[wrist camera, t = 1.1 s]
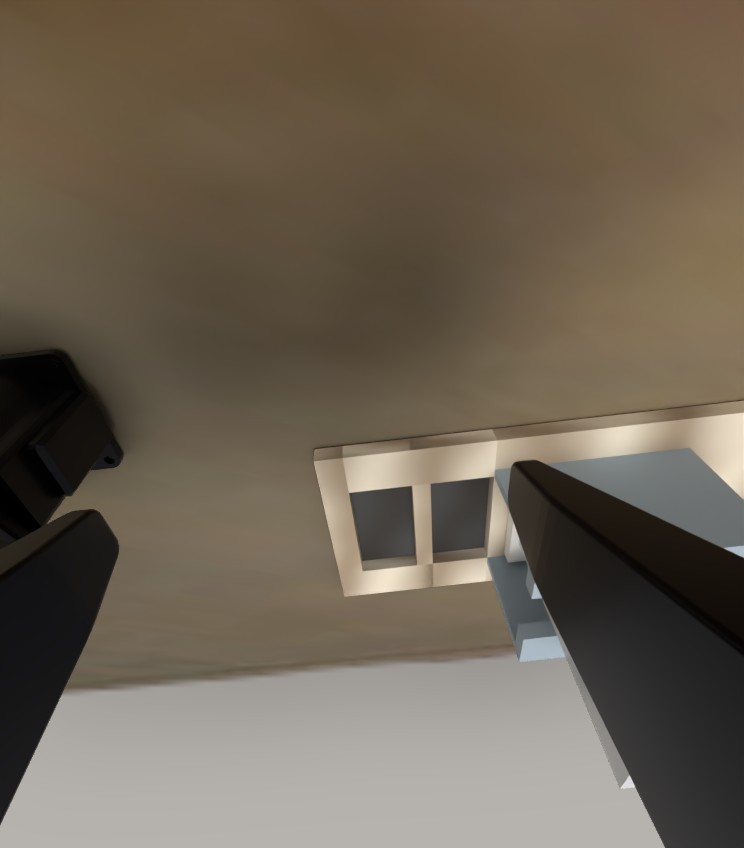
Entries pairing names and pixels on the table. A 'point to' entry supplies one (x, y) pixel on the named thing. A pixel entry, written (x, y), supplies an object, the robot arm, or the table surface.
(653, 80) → the table surface
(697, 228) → the table surface
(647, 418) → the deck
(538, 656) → the light blue blocks
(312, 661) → the table surface
